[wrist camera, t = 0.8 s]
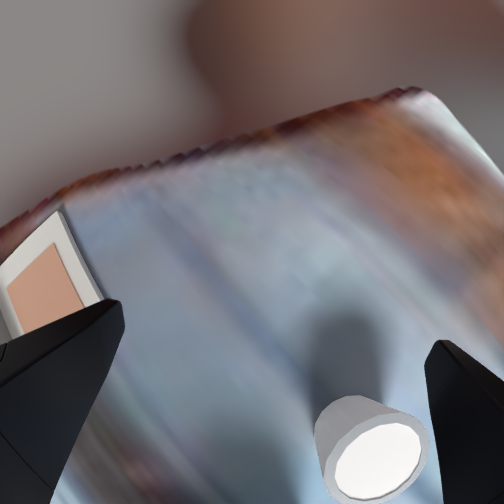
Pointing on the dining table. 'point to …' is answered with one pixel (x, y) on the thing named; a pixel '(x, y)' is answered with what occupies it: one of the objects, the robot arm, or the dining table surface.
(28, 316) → the white board with socket
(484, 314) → the dining table surface
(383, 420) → the white cup
